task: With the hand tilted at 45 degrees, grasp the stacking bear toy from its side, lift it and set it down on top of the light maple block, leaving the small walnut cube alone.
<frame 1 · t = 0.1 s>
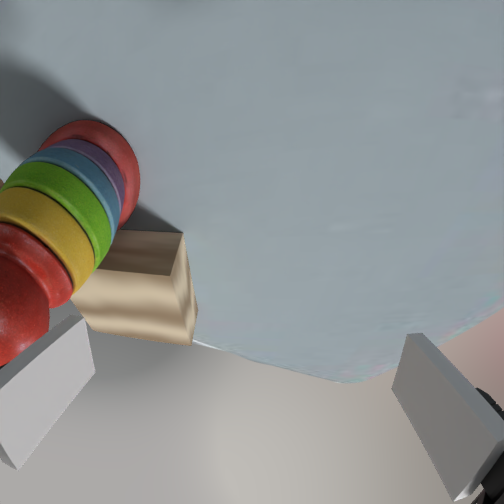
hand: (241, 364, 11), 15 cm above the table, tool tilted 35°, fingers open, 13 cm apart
stacking bear: (92, 167, 23), on the table
maple block: (135, 272, 33), on the table
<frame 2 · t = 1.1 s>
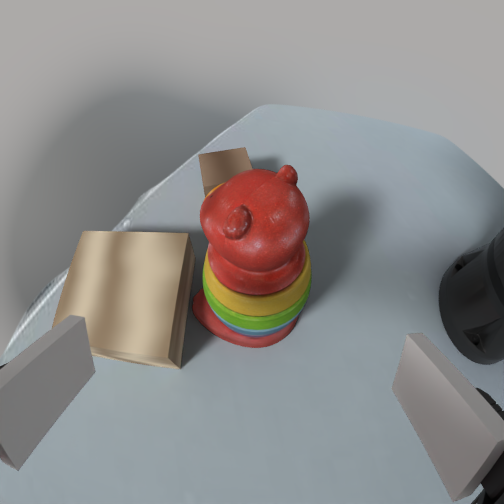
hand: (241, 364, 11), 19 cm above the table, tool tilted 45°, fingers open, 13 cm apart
stacking bear: (253, 306, 33), on the table
maple block: (132, 305, 32), on the table
walnut cube: (228, 199, 41), on the table
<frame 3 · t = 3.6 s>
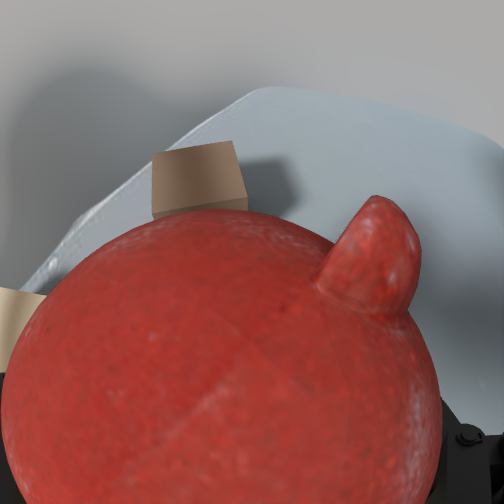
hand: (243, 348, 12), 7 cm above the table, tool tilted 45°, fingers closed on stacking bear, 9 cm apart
stacking bear: (238, 425, 17), on the table, touching gripper
maple block: (54, 403, 16), on the table
walnut cube: (204, 226, 25), on the table
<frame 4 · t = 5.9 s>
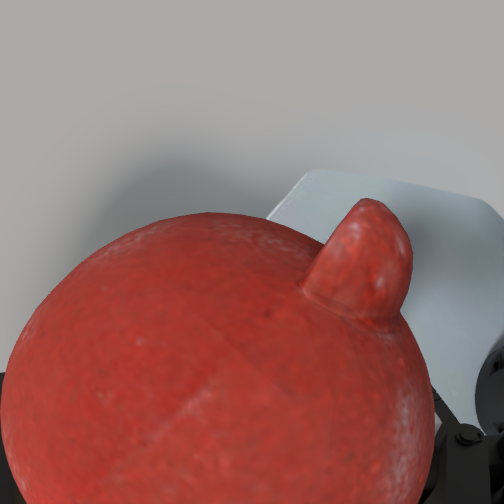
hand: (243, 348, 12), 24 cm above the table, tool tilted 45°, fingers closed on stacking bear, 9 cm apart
stacking bear: (240, 424, 17), point 16 cm above the table, touching gripper
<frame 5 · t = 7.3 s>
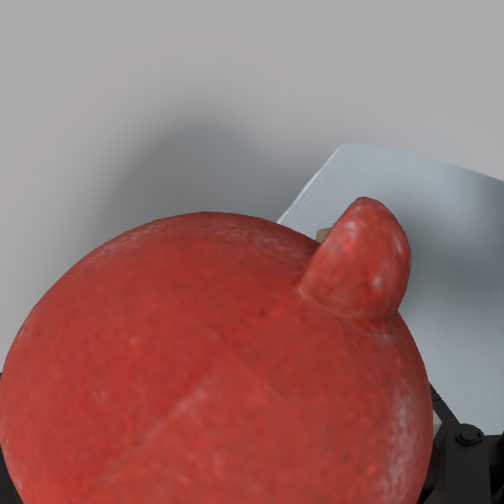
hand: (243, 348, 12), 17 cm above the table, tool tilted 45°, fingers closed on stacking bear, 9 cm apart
stacking bear: (240, 424, 17), point 10 cm above the table, touching gripper
when the fingers open (14 cm above the table, at t = 8.4 s): stacking bear drops 1 cm, resting on maple block.
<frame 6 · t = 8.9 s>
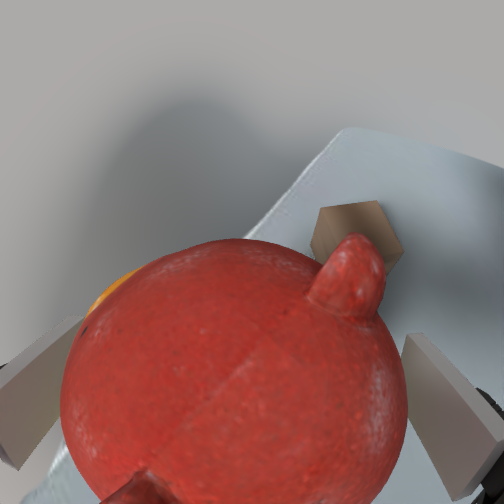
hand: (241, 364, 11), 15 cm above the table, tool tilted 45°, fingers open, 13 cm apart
stacking bear: (241, 426, 18), point 5 cm above the table, touching maple block
walnut cube: (345, 264, 31), on the table
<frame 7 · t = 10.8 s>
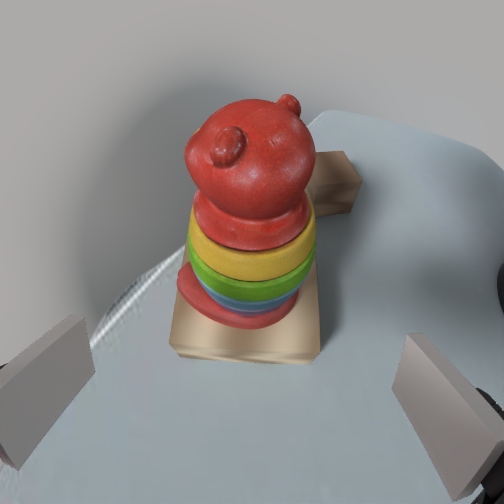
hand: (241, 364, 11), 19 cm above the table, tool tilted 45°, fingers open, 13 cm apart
stacking bear: (247, 282, 29), point 5 cm above the table, touching maple block
maple block: (247, 303, 33), on the table
walnut cube: (322, 198, 42), on the table
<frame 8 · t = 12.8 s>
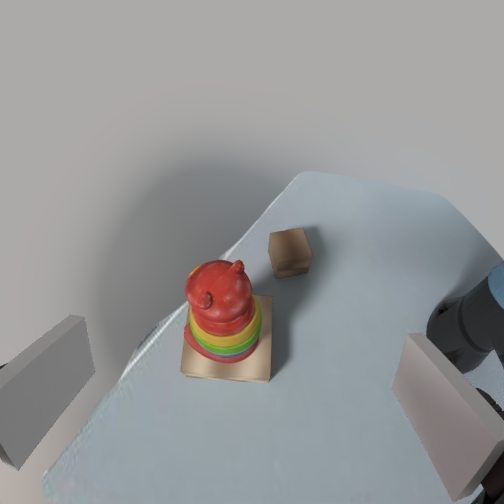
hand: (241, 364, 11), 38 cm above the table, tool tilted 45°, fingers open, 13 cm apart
stacking bear: (227, 333, 45), point 5 cm above the table, touching maple block
maple block: (229, 342, 49), on the table
walnut cube: (287, 262, 58), on the table
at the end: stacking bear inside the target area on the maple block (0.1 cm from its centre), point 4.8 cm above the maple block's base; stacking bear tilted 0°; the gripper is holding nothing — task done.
